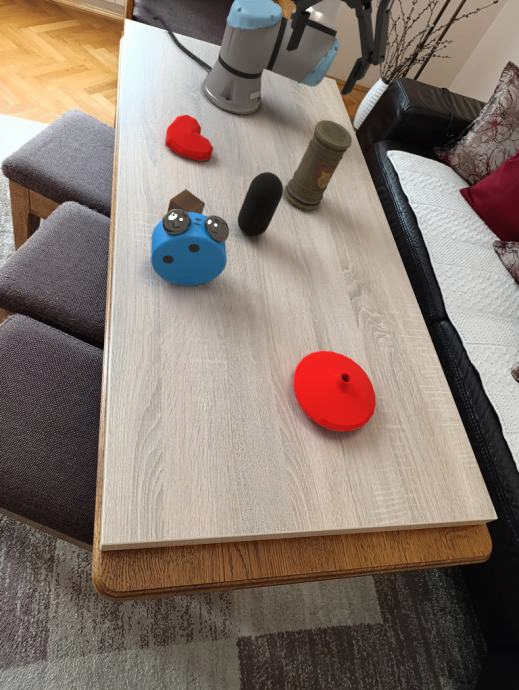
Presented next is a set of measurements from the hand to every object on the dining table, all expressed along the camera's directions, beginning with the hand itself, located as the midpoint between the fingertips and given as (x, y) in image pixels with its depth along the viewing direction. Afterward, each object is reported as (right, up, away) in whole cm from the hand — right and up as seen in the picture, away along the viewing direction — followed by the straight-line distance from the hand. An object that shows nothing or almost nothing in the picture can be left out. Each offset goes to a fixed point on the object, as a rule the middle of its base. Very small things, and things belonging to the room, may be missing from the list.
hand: (318, 70), depth 93 cm
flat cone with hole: (+1, -60, -3) cm, 61 cm away
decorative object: (-13, -27, +14) cm, 33 cm away
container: (-1, -16, +26) cm, 31 cm away
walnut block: (-27, -25, +9) cm, 38 cm away
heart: (-28, -6, +22) cm, 36 cm away
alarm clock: (-26, -38, +1) cm, 46 cm away
